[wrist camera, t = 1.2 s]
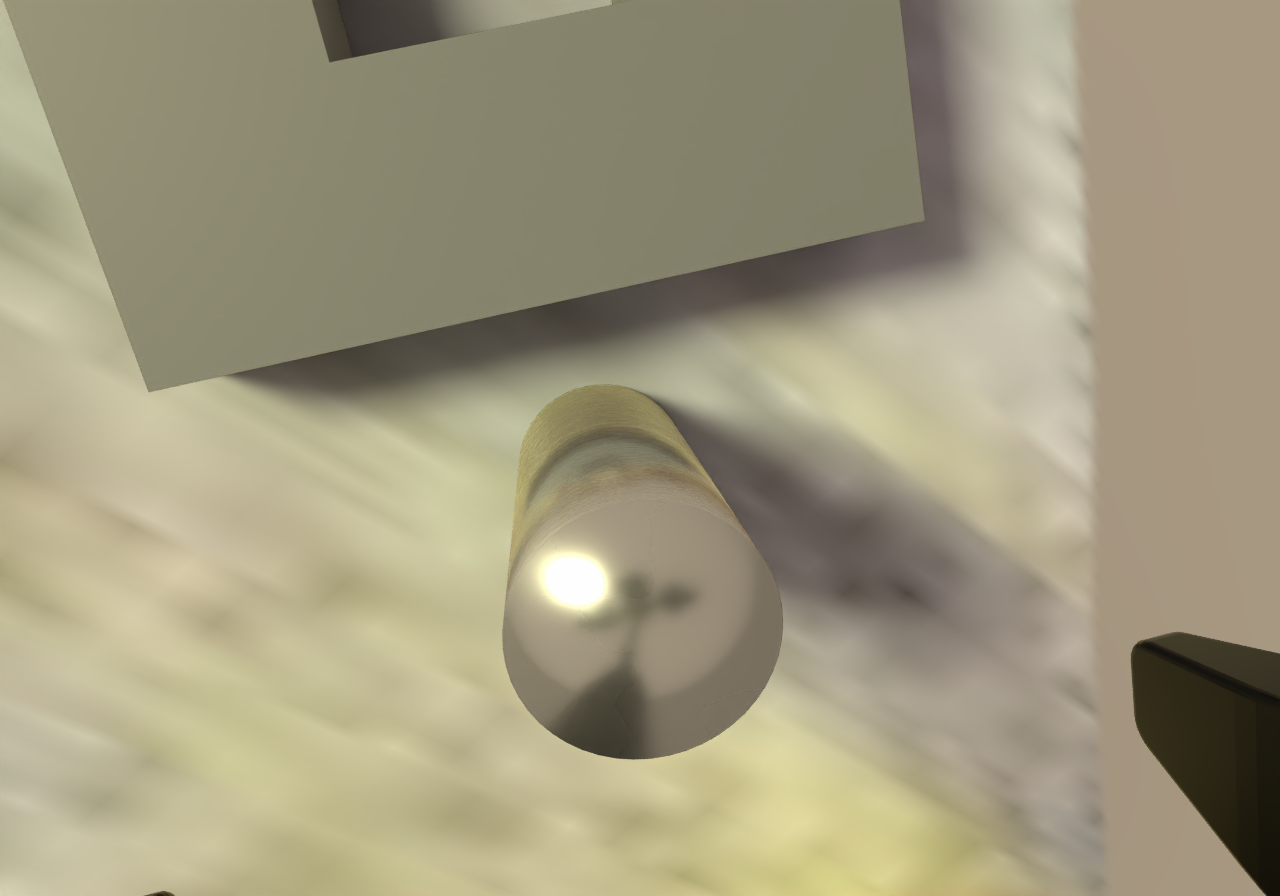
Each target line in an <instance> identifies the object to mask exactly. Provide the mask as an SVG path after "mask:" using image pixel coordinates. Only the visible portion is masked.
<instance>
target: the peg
mask: <svg viewBox="0 0 1280 896" xmlns="http://www.w3.org/2000/svg"><path fill="white" fill-rule="evenodd" d="M782 631H783V615H782V604H781V600H780V595H779V591H778V588H777V585H776V582H775V580H774V577H773V574H772V572H771V571H770V569H769V567H768V565H767V563H766V562H765V560H764V558H763V557H762V555H761V554H760V552H759V551H758V549H757V548H756V546H755V545H754V543H753V542H752V540H751V539H750V537H749V536H748V534H747V533H746V531H745V530H744V528H743V527H742V525H741V524H740V522H739V521H738V519H737V518H736V516H735V514H734V513H733V511H732V510H731V508H730V507H729V505H728V504H727V502H726V501H725V499H724V498H723V496H722V495H721V493H720V492H719V490H718V489H717V487H716V486H715V484H714V483H713V481H712V480H711V478H710V477H709V475H708V474H707V472H706V471H705V469H704V468H703V466H702V465H701V463H700V462H699V460H698V459H697V457H696V456H695V454H694V453H693V451H692V450H691V448H690V447H689V445H688V444H687V442H686V441H685V439H684V438H683V436H682V435H681V433H680V432H679V430H678V429H677V427H676V426H675V424H674V423H673V421H672V420H671V418H670V417H669V416H668V415H667V413H666V412H665V411H664V410H663V409H662V408H661V407H660V406H659V405H658V404H657V403H655V402H654V401H653V400H651V399H650V398H649V397H647V396H645V395H643V394H642V393H640V392H637V391H635V390H632V389H629V388H626V387H622V386H616V385H591V386H585V387H581V388H577V389H574V390H572V391H570V392H567V393H565V394H563V395H562V396H560V397H558V398H556V399H555V400H554V401H552V402H551V403H550V404H548V405H547V406H546V407H545V408H544V409H543V410H542V411H541V412H540V413H539V414H538V415H537V417H536V418H535V419H534V421H533V422H532V424H531V425H530V427H529V429H528V431H527V433H526V435H525V438H524V440H523V443H522V447H521V451H520V459H519V469H518V479H517V489H516V499H515V509H514V520H513V530H512V540H511V550H510V560H509V570H508V581H507V591H506V601H505V611H504V621H503V652H504V658H505V664H506V668H507V671H508V674H509V677H510V680H511V683H512V685H513V687H514V689H515V691H516V693H517V695H518V697H519V698H520V700H521V701H522V702H523V704H524V705H525V707H526V708H527V710H528V711H529V712H530V713H531V714H532V715H533V716H534V717H535V719H536V720H537V721H538V722H539V723H540V724H541V725H543V726H544V727H545V728H546V729H547V730H549V731H550V732H551V733H552V734H554V735H555V736H557V737H559V738H560V739H562V740H563V741H565V742H567V743H569V744H571V745H573V746H575V747H577V748H580V749H582V750H585V751H588V752H591V753H594V754H597V755H601V756H607V757H612V758H620V759H652V758H658V757H664V756H669V755H673V754H676V753H680V752H683V751H686V750H689V749H691V748H694V747H696V746H699V745H701V744H703V743H705V742H707V741H708V740H710V739H712V738H714V737H716V736H717V735H719V734H720V733H722V732H723V731H724V730H726V729H727V728H729V727H730V726H731V725H733V724H734V723H735V722H736V721H737V720H738V719H739V718H740V717H741V716H743V715H744V714H745V713H746V711H747V710H748V709H749V708H750V707H751V706H752V705H753V703H754V702H755V701H756V700H757V698H758V697H759V695H760V694H761V692H762V691H763V689H764V688H765V686H766V684H767V682H768V680H769V678H770V676H771V674H772V672H773V670H774V667H775V664H776V661H777V658H778V656H779V651H780V646H781V641H782Z"/></svg>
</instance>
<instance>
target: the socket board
mask: <svg viewBox="0 0 1280 896" xmlns="http://www.w3.org/2000/svg"><path fill="white" fill-rule="evenodd" d="M3 1H4V4H5V6H6V9H7V12H8V14H9V17H10V20H11V22H12V25H13V28H14V31H15V33H16V36H17V39H18V41H19V44H20V47H21V49H22V52H23V55H24V57H25V60H26V63H27V66H28V68H29V71H30V74H31V76H32V79H33V82H34V84H35V87H36V90H37V93H38V95H39V98H40V101H41V103H42V106H43V109H44V111H45V114H46V117H47V119H48V122H49V125H50V128H51V130H52V133H53V136H54V138H55V141H56V144H57V146H58V149H59V152H60V155H61V157H62V160H63V163H64V165H65V168H66V171H67V173H68V176H69V179H70V181H71V184H72V187H73V190H74V192H75V195H76V198H77V200H78V203H79V206H80V208H81V211H82V214H83V217H84V219H85V222H86V225H87V227H88V230H89V233H90V235H91V238H92V241H93V243H94V246H95V249H96V252H97V254H98V257H99V260H100V262H101V265H102V268H103V270H104V273H105V276H106V278H107V281H108V284H109V287H110V289H111V292H112V295H113V297H114V300H115V303H116V305H117V308H118V311H119V314H120V316H121V319H122V322H123V324H124V327H125V330H126V332H127V335H128V338H129V340H130V343H131V346H132V349H133V351H134V354H135V357H136V359H137V362H138V365H139V367H140V370H141V373H142V376H143V378H144V381H145V384H146V386H147V389H148V392H152V391H157V390H161V389H166V388H170V387H175V386H179V385H184V384H188V383H193V382H197V381H202V380H206V379H211V378H215V377H220V376H224V375H229V374H234V373H238V372H243V371H247V370H252V369H256V368H261V367H265V366H270V365H274V364H279V363H283V362H288V361H292V360H297V359H301V358H306V357H310V356H315V355H320V354H324V353H329V352H333V351H338V350H342V349H347V348H351V347H356V346H360V345H365V344H369V343H374V342H378V341H383V340H387V339H392V338H396V337H401V336H405V335H410V334H415V333H419V332H424V331H428V330H433V329H437V328H442V327H446V326H451V325H455V324H460V323H464V322H469V321H473V320H478V319H482V318H487V317H491V316H496V315H500V314H505V313H510V312H514V311H519V310H523V309H528V308H532V307H537V306H541V305H546V304H550V303H555V302H559V301H564V300H568V299H573V298H577V297H582V296H586V295H591V294H595V293H600V292H605V291H609V290H614V289H618V288H623V287H627V286H632V285H636V284H641V283H645V282H650V281H654V280H659V279H663V278H668V277H672V276H677V275H681V274H686V273H691V272H695V271H700V270H704V269H709V268H713V267H718V266H722V265H727V264H731V263H736V262H740V261H745V260H749V259H754V258H758V257H763V256H767V255H772V254H776V253H781V252H786V251H790V250H795V249H799V248H804V247H808V246H813V245H817V244H822V243H826V242H831V241H835V240H840V239H844V238H849V237H853V236H858V235H862V234H867V233H871V232H876V231H881V230H885V229H890V228H894V227H899V226H903V225H908V224H912V223H917V222H921V221H925V218H924V210H923V201H922V192H921V183H920V174H919V166H918V157H917V148H916V139H915V130H914V122H913V113H912V104H911V95H910V87H909V78H908V69H907V60H906V51H905V43H904V34H903V25H902V16H901V7H900V0H612V4H613V5H610V6H605V7H600V8H595V9H590V10H585V11H580V12H575V13H570V14H566V15H561V16H556V17H551V18H546V19H541V20H536V21H531V22H526V23H521V24H516V25H511V26H506V27H502V28H497V29H492V30H487V31H482V32H477V33H472V34H467V35H462V36H457V37H452V38H447V39H443V40H438V41H433V42H428V43H423V44H418V45H413V46H408V47H403V48H398V49H393V50H388V51H383V52H379V53H374V54H369V55H364V56H359V57H354V58H353V56H352V53H351V49H350V45H349V42H348V38H347V35H346V31H345V27H344V24H343V20H342V16H341V13H340V9H339V5H338V2H337V0H3Z"/></svg>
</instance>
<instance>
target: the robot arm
mask: <svg viewBox="0 0 1280 896" xmlns="http://www.w3.org/2000/svg"><path fill="white" fill-rule="evenodd" d="M1131 669H1132V685H1133V699H1134V700H1133V701H1134V716H1135V721H1136V725H1137V728H1138V731H1139V733H1140V735H1141V737H1142V739H1143V741H1144V743H1145V744H1146V745H1147V747H1148V748H1149V750H1150V751H1151V752H1152V753H1153V755H1154V756H1155V757H1156V759H1157V760H1158V761H1159V762H1160V764H1161V765H1162V766H1163V767H1164V769H1165V770H1166V771H1167V773H1168V774H1169V775H1170V776H1171V778H1172V779H1173V780H1174V781H1175V783H1176V784H1177V785H1178V787H1179V788H1180V789H1181V790H1182V792H1183V793H1184V794H1185V795H1186V797H1187V798H1188V799H1189V801H1190V802H1191V803H1192V804H1193V806H1194V807H1195V808H1196V809H1197V811H1198V812H1199V813H1200V815H1201V816H1202V817H1203V818H1204V819H1205V821H1206V822H1207V824H1209V826H1210V827H1211V829H1212V830H1213V831H1214V832H1215V834H1216V835H1217V836H1218V837H1219V839H1220V840H1221V841H1222V843H1223V844H1224V845H1225V846H1226V848H1227V849H1228V850H1229V851H1230V853H1231V854H1232V855H1233V857H1234V858H1235V859H1236V860H1237V862H1238V863H1239V864H1240V865H1241V867H1242V868H1243V869H1244V870H1245V871H1246V873H1247V874H1248V875H1249V876H1250V877H1251V879H1252V880H1253V881H1254V882H1255V883H1256V885H1257V886H1258V887H1259V888H1260V889H1261V890H1262V892H1263V893H1264V894H1265V895H1266V896H1280V654H1279V653H1275V652H1270V651H1265V650H1261V649H1256V648H1251V647H1247V646H1242V645H1238V644H1233V643H1228V642H1224V641H1220V640H1215V639H1210V638H1206V637H1201V636H1197V635H1192V634H1188V633H1182V632H1173V633H1169V634H1165V635H1161V636H1157V637H1153V638H1149V639H1146V640H1142V641H1139V642H1138V643H1137V644H1136V645H1135V646H1134V647H1133V650H1132V653H1131ZM145 896H174V895H173V894H172V893H170V892H166V891H160V892H156V893H153V894H149V895H145Z"/></svg>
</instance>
